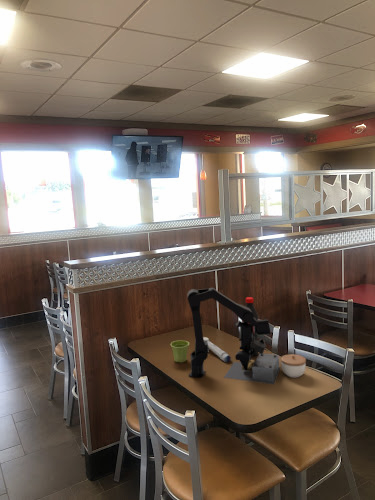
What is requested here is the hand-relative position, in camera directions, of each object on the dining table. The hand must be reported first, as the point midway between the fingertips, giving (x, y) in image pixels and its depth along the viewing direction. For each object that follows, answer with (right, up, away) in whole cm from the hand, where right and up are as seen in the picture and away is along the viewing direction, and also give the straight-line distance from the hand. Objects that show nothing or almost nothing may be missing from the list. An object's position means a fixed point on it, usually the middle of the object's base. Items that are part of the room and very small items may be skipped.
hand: (247, 367), depth 180 cm
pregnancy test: (-13, 0, +23) cm, 27 cm away
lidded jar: (+20, -2, -4) cm, 21 cm away
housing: (+8, -2, -3) cm, 9 cm away
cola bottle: (+5, 0, +21) cm, 21 cm away
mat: (+2, -2, -1) cm, 3 cm away
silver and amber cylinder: (+3, -1, -1) cm, 3 cm away
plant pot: (-31, -2, +17) cm, 36 cm away
